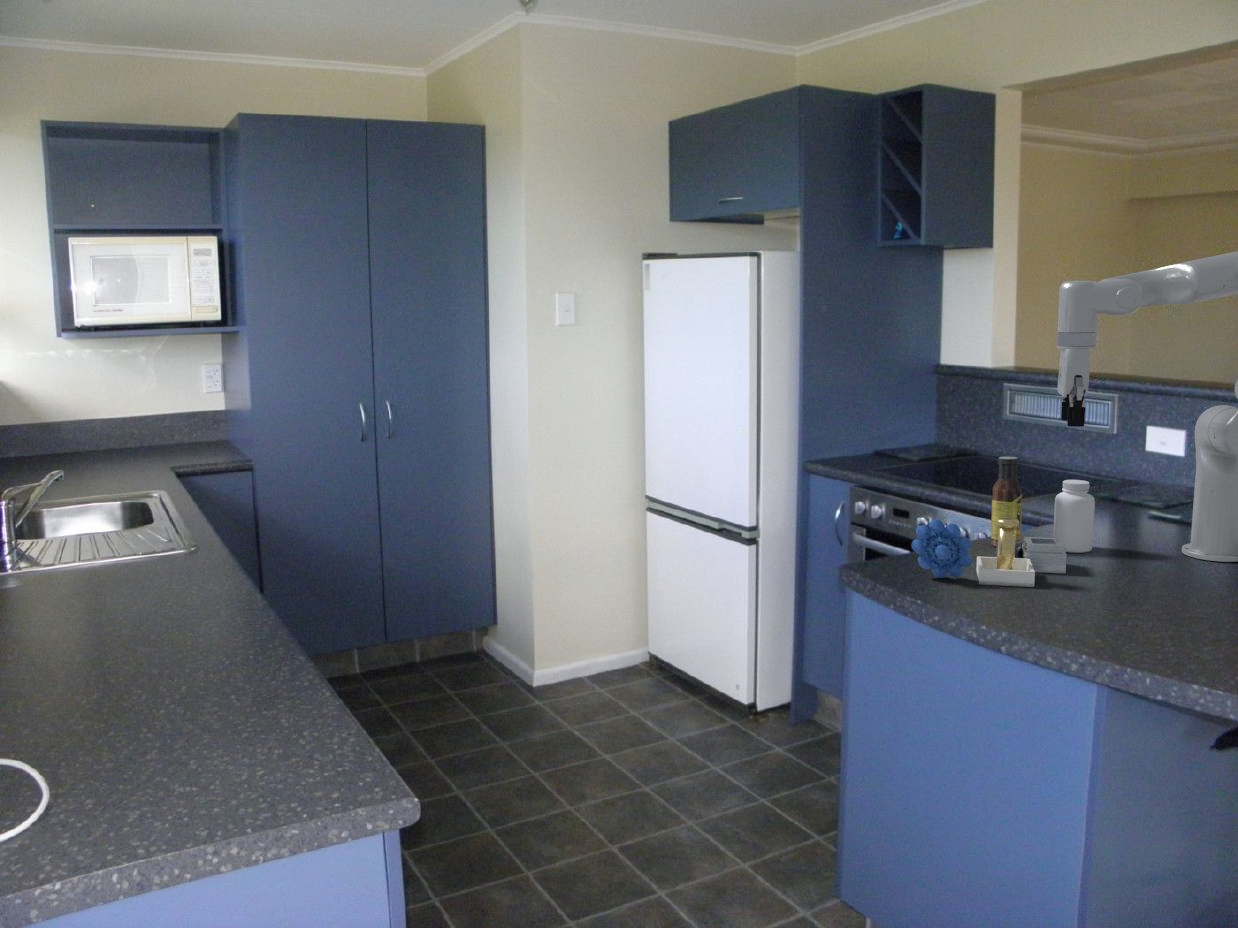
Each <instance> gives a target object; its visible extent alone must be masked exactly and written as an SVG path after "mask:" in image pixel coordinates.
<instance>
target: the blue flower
mask: <svg viewBox="0 0 1238 928" xmlns="http://www.w3.org/2000/svg"><path fill="white" fill-rule="evenodd" d="M915 533H916V536H917V537H918V538H916V539H914V540H912V542H911V549H912V550H913V551H914V552H915V553H916V554H918V557H917V562H918V565H919V566H920V567H921V568H922V569H925V570H929V569H931V572H932V574H933V575H934V576H935V577H936V578H939V579H941V578H942V579H944V578H947V576H948V575H950V577H953V578H955V579H958V578H959V577H961V576H962V575H963V573H964V570H963V568H969V567H970V566H972V565H973V561H974V560H973V558H972V556H971V554H970V553H968V552H969V551H971V549H972V542H971V540H970V539H969V538H968V537H965V536H963V535H962V536H961V534H962V533H961V528H960V527H959V526H958V525H957V524H955V523H948V524H946V525H945V523H944V522H943V521H942V520H940V519H937V518H934V519H932V520H930V522H929V523H928V526H927V525H919V526H917V527H916V530H915Z"/></svg>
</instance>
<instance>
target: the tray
mask: <svg viewBox="0 0 1238 928" xmlns="http://www.w3.org/2000/svg"><path fill="white" fill-rule="evenodd" d="M975 571H976V574H977V581H978V584H979V585H985V586H987V585H989V586H1007V587H1008V586H1009V587H1024V588H1025V587H1027V588H1030V587H1031V588H1034V587H1035V579H1036V578H1035V577H1036V572H1035V571H1034V569H1033V566H1032V564H1031V561H1030V559H1024V558H1015V559H1014V570H1001V569H997V557H996V556H980V555H979V556H976V568H975Z"/></svg>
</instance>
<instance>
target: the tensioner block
mask: <svg viewBox="0 0 1238 928" xmlns="http://www.w3.org/2000/svg"><path fill="white" fill-rule="evenodd" d="M997 553H998V540H997V541H996V547H995V557H997ZM1015 558H1024V559H1030V561H1031V564H1032V566H1033V569H1034V571H1035V573H1044V574H1045V573H1046V574H1060V575H1062V574H1064V575H1065V574H1067V573H1066V571H1067V552H1065V550H1064V549H1063V545H1062V543H1061V541H1060V539H1059V538H1053V537H1042V536H1041V537H1040V536H1039V537H1037V536H1023V542H1022V541H1021V540H1020V541H1017V540H1016V543H1015Z"/></svg>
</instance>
